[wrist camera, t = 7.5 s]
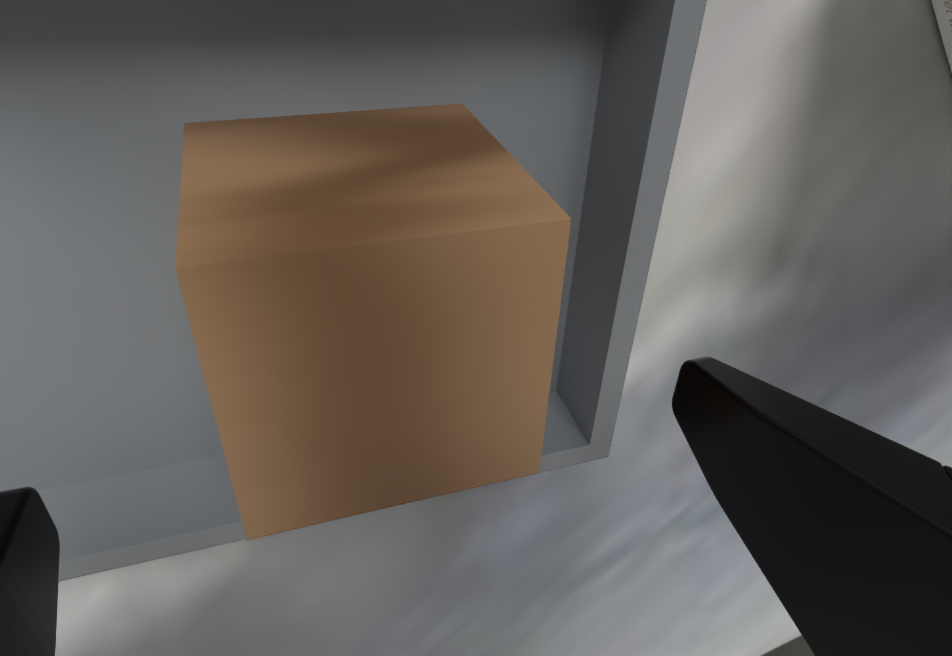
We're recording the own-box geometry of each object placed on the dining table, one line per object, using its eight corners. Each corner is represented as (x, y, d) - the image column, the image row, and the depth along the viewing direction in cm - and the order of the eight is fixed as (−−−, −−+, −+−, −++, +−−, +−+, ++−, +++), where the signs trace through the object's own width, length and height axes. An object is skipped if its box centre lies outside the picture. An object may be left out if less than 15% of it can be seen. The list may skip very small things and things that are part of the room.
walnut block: (462, 103, 13) (571, 219, 9) (458, 317, 16) (539, 472, 12) (184, 122, 12) (174, 268, 8) (235, 353, 15) (247, 540, 11)
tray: (639, -109, 12) (727, -96, 10) (564, 389, 19) (607, 456, 17) (-1093, -156, 7) (-1649, -149, 5) (-325, 561, 14) (-417, 689, 12)
